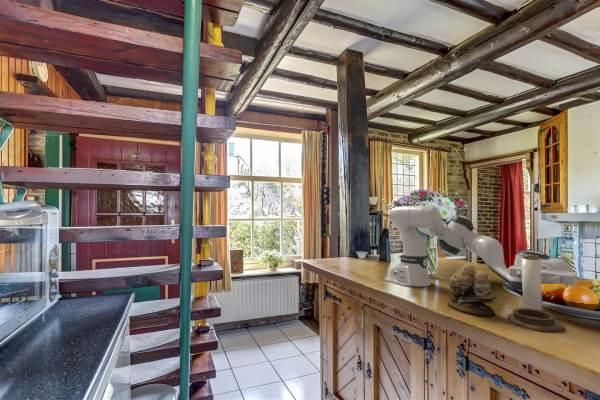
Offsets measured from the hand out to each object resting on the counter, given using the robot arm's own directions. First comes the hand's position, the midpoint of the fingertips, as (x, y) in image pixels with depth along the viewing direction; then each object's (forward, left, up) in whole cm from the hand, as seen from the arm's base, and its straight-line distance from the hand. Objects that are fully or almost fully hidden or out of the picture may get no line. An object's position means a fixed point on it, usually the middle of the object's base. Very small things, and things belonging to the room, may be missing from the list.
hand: (534, 278), depth 109 cm
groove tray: (+4, -14, -12) cm, 18 cm away
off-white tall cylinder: (0, -2, -12) cm, 12 cm away
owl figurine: (-15, -16, -12) cm, 25 cm away
